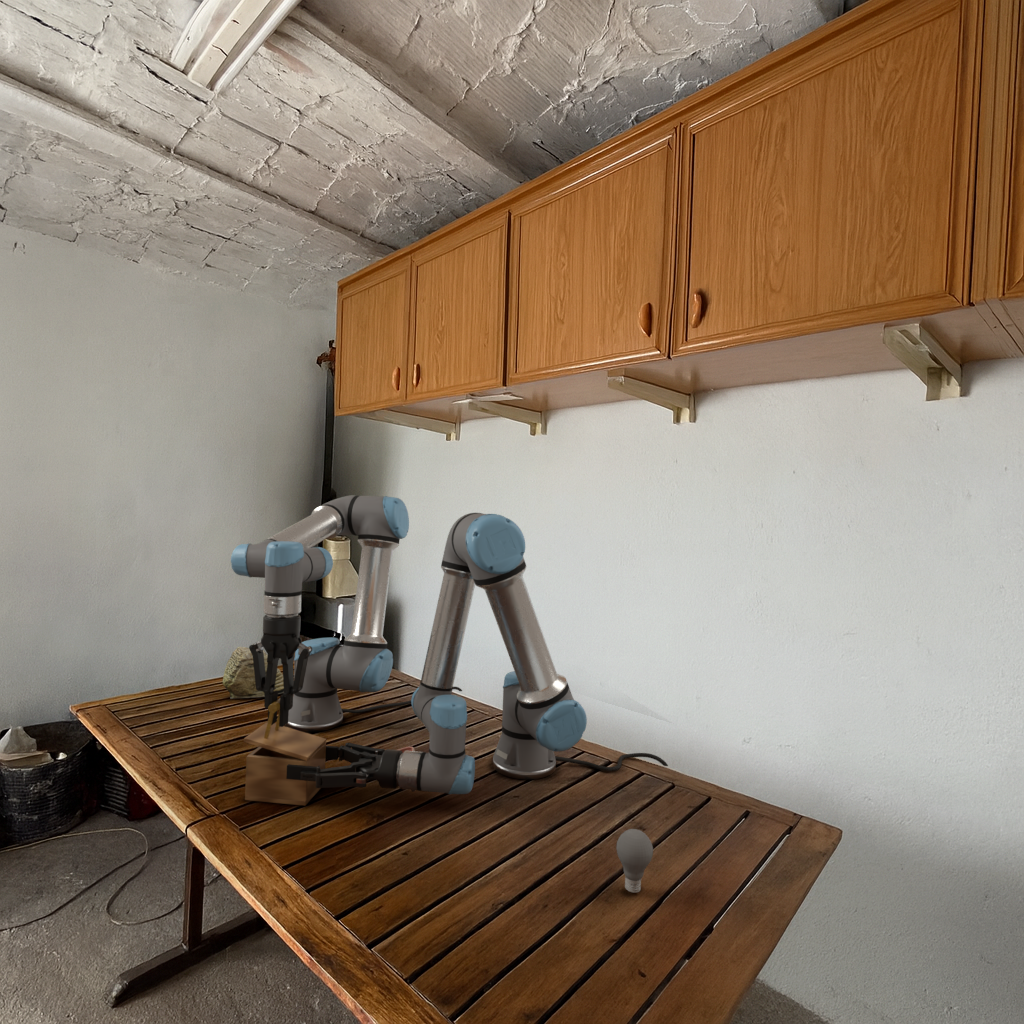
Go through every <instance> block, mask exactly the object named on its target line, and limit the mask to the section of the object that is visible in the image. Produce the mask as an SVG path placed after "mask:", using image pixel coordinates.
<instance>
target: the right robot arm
mask: <svg viewBox="0 0 1024 1024" xmlns="http://www.w3.org/2000/svg"><path fill="white" fill-rule="evenodd" d="M525 539H526V538H525V536H524V533H523V532H522V530H521V528H520V527H519V525H518V524H517V523H516V522H514V521H513V520H511V519H510V518H508V517H506V516H504V515H501V514H497V513H482V512H470V513H465V514H464V515H462V516H460V517H458V519H456V521H455V522H454V523H453V524H452V526H451V528H450V530H449V532H448V534H447V538H446V542H445V546H444V551H443V554H442V555H443V556H442V558H441V559H442V560H441V563H440V564H441V565H440V569H441V570H442V572H443V575H442V581H441V585H440V590H439V594H438V595H439V596H438V600H437V603H436V608H435V612H434V613H435V614H434V618H433V623H432V627H431V632H430V637H429V641H428V647H427V651H426V656H425V659H424V665H423V669H422V674H421V678H420V682H419V685H418V687H417V688H416V689H415V690H414V692H413V693H412V695H411V699H410V700H411V703H410V704H411V708H412V710H413V712H414V715H415V716H416V718H418V719H419V720H420V721H421V723H422V724H423V725H424V727H425V729H426V730H427V731H428V733H429V742H428V743H429V744H428V746H429V747H428V752H427V751H417V750H415V751H405V752H404V753H403V752H402V751H401V750H398V749H391V748H390V749H388V748H387V749H385V748H374V747H370V746H366V745H361V744H357V743H352V742H346V743H345V744H344V745H340V746H334V745H326V758H325V760H332V761H338V762H343V761H346V762H348V763H349V764H348V765H342V766H334V767H328V768H326V767H325V769H320V766H317V767H314V766H302V765H291V764H288V765H287V776H286V779H293V780H304V781H316V788H320V789H327V788H328V789H329V788H350V787H351V788H352V787H355V788H366V787H367V782H368V781H375V780H376V781H377V783H378V786H379V787H380V788H382V789H383V788H384V789H394V790H396V789H398V788H399V789H400V790H406V791H407V790H408V791H411V792H413V793H414V792H416V791H419V792H429V793H439V794H447V795H468V794H469V793H471V792H472V789H473V787H474V781H475V776H476V759H475V757H474V756H472V755H468V754H466V739H467V735H466V734H467V721H468V711H467V710H468V709H467V701H466V699H465V698H464V697H462V696H459V695H456V694H453V690H454V689H453V687H454V683H455V679H456V674H457V670H458V665H459V660H460V656H461V651H462V647H463V642H464V638H465V633H466V628H467V624H468V619H469V615H470V611H471V605H472V602H473V597H474V594H475V593H474V592H475V588H476V587H478V588H479V589H482V590H484V592H485V594H486V597H487V600H488V603H489V605H490V608H491V610H492V613H493V617H494V619H495V622H496V625H497V627H498V630H499V632H500V635H501V638H502V641H503V643H504V646H505V649H506V652H507V655H508V657H509V660H510V662H511V666H512V669H513V671H509V672H507V673H506V674H505V676H504V679H503V685H502V714H501V715H502V716H501V718H502V719H501V733H500V737H499V739H498V743H497V745H496V747H495V750H494V752H493V756H492V767H493V769H494V770H495V771H496V772H498V773H499V774H501V775H503V776H505V777H508V778H511V779H517V780H538V779H539V780H540V779H543V778H546V777H548V776H550V775H552V774H554V772H555V771H556V769H557V767H556V766H557V761H558V762H564V763H570V764H575V765H576V764H577V765H581V766H586V767H590V768H592V769H596V770H599V771H603V772H616V771H618V770H620V769H621V768H622V766H623V765H622V764H623V761H624V760H625V759H632V758H647V759H652V760H654V761H657V762H658V763H660V764H661V765H662V766H664V767H668V766H669V765H668V763H667V762H666V761H665V760H664V759H662V758H661V757H660V756H658V755H655V754H653V753H648V752H636V753H635V752H634V753H625V754H622V755H620V756H619V757H618V759H617V765H614V766H604V765H601V764H600V765H599V764H597V763H593V762H590V761H586V760H581V759H575V758H571V757H570V758H569V757H564V756H558V755H557V756H556V754H555V752H558V753H559V752H564V751H567V750H569V749H571V748H573V747H574V746H576V745H577V744H578V742H579V741H580V740H581V739H582V737H583V734H584V732H585V730H586V728H587V723H588V722H587V721H588V718H587V713H586V710H585V709H584V707H583V706H582V704H581V703H580V702H579V701H578V700H575V699H574V696H573V694H572V691H571V688H570V685H569V683H568V680H567V677H565V676H564V675H563V674H560V673H558V672H557V669H556V666H555V663H554V661H553V657H552V655H551V652H550V650H549V646H548V644H547V641H546V638H545V635H544V633H543V629H542V626H541V624H540V622H539V619H538V616H537V613H536V610H535V607H534V605H533V602H532V599H531V596H530V593H529V591H528V588H527V585H526V582H525V579H524V573H525V571H526V570H527V563H526V561H525V558H524V554H525V553H526V540H525ZM452 689H453V690H452Z"/></svg>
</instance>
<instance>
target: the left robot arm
mask: <svg viewBox="0 0 1024 1024" xmlns="http://www.w3.org/2000/svg"><path fill="white" fill-rule="evenodd" d="M409 529H410V517H409V511H408V509H407V506H406V504H405V502H404V501H403V500H402V499H401V498H400V497H394V496H387V495H385V496H384V495H358V494H351V495H346V496H345V495H344V496H341V497H338V498H335V499H332V500H330V501H328V502H325V503H323V504H321V505H319V506H317V507H316V508H314V509H313V510H312V512H311V514H310V515H308V516H306V517H305V518H303V519H300V520H299V521H297V522H295V523H294V524H292V525H290V526H288V527H286V528H284V529H282V530H280V531H279V532H277V533H275V534H273V535H271V536H269V537H267V538H266V539H263V540H262V541H260V542H258V543H256V544H253V543H241V544H238V545H236V547H235V548H234V549H233V551H232V552H231V556H230V563H231V569H232V571H233V573H234V574H235V575H237V576H242V577H248V578H260V579H261V578H262V579H264V591H263V593H264V594H263V613H264V614H265V615H264V616H263V617H262V637H261V638H260V641H257V642H255V643H252V644H250V645H249V647H248V648H249V649H250V651H251V653H252V656H253V664H254V674H255V684H256V689H257V690H258V691H262V692H264V694H265V697H264V703H263V704H264V706H263V707H264V709H267V720H268V719H269V715H270V712H269V710H268V707H269V705H270V704H272V703H273V702H275V701H276V700H278V699H279V698H280V709H279V710H280V716H279V727H283V726H285V727H288V728H292V729H295V730H298V731H302V732H305V733H316V732H325V731H329V730H332V729H335V728H337V727H339V726H340V725H342V723H343V722H344V713H349V714H362V713H367V712H370V711H374V710H379V709H383V708H384V709H385V708H392V707H400V706H405V705H409V704H411V699H410V700H405V701H402V702H401V701H400V702H394V703H386V704H379V705H373V706H369V707H366V708H362V709H350V708H342V706H341V702H340V699H339V695H338V690H344V691H345V690H347V691H354V692H360V693H377V692H379V691H381V690H382V689H383V688H384V687H385V685H386V684H387V683H388V681H389V678H390V676H391V673H392V669H393V665H394V656H393V652H392V651H391V650H390V649H388V648H387V647H388V642H387V640H386V639H385V638H384V636H383V635H384V626H385V620H386V619H385V618H386V609H387V601H388V593H389V586H390V578H391V571H392V570H391V569H392V561H393V551H394V550H395V549H397V548H398V547H399V546H400V540H403V539H405V538H406V537H407V536H408V533H409ZM338 536H355V537H356V536H357V543H358V544H359V545H360V547H361V553H360V563H359V569H358V577H357V584H356V585H357V587H356V592H355V599H354V607H353V614H352V623H351V630H350V634H349V635H348V636H346V637H345V638H344V641H343V645H342V644H340V643H341V641H340V639H339V638H338V637H334V636H333V637H318V638H313V639H307V640H304V641H302V638H301V635H300V634H301V633H300V632H301V620H302V619H301V618H302V617H301V615H300V614H301V612H302V592H303V590H302V589H303V583H309V582H312V581H319V580H321V579H324V578H326V577H327V576H328V575H329V574H330V573H331V572H332V570H333V566H334V560H333V556H332V555H331V553H330V551H328V550H327V548H324V547H320V546H316V545H318V544H320V543H321V542H323V541H325V540H328V539H329V540H330V539H335V538H336V537H338ZM263 650H264V651H265V653H266V654H267V655H268V656H267V663H268V664H267V671H266V672H265V662H264V653H263ZM279 660H280V662H281V664H282V675H283V685H284V692H283V693H281V694H280V697H279V694H278V692H277V691H274V690H275V689H276V688H275V682H276V674H277V668H278V667H279ZM454 690H457V691H458V692H463V689H462V688H460V687H459V686H453V689H452V691H454ZM273 691H274V692H273ZM277 718H278V711H276V712H275V713H274V717H273V721H272V725H273V724H274V723H275V724H276V722H277Z"/></svg>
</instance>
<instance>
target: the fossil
mask: <svg viewBox="0 0 1024 1024" xmlns="http://www.w3.org/2000/svg"><path fill="white" fill-rule="evenodd" d="M263 653H264V662H265V672H266V671H267V664H268V663H267V656H268V653H267V652H266V651H265V649H263ZM222 676H223V677H222V685H223V687H224V688H225V690H226V691H228V693H229V698H230V699H250V698H265V694H264V692H262V691H258V690H257V689H256V684H255V674H254V664H253V656H252V653H251V651H250V649H249V647H247V646H246V647H245V646H238V647H237V648H236V649H235V650H233V651H232V653H231V656H230V657H229V659H228V660H227V663H226V666H225V668H224V671H223V675H222ZM275 688H276V689H275V690H274V691H277V692H278V695H281V694H284V685H283V672H281V669H279V668H278V667H277V674H276V682H275ZM274 691H273V692H274Z"/></svg>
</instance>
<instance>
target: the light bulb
mask: <svg viewBox="0 0 1024 1024" xmlns="http://www.w3.org/2000/svg"><path fill="white" fill-rule="evenodd" d="M615 849H616V854H617V857H618V859H619V861H620V863H621V865H622V867H623V873H624V874H623V875H624V876H625V878H624V888H625V890H627V891H628V892H630V893H634V894H635V893H639V892H640V891H641V889H642V887H641V886H642V879H643V877H644V875H645V871H646V868H647V867H648V866H649V864H650V863H651V861H652V859H653V855H654V847H653V843H652V841H651V838H649V836H648V835H647V834H646V833H645V832H643V831H642V830H641V829H636V828H629V829H627V830H625V831H623V832H622V833H621V834H620V835H619V837H618V839H617V841H616V847H615Z"/></svg>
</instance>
